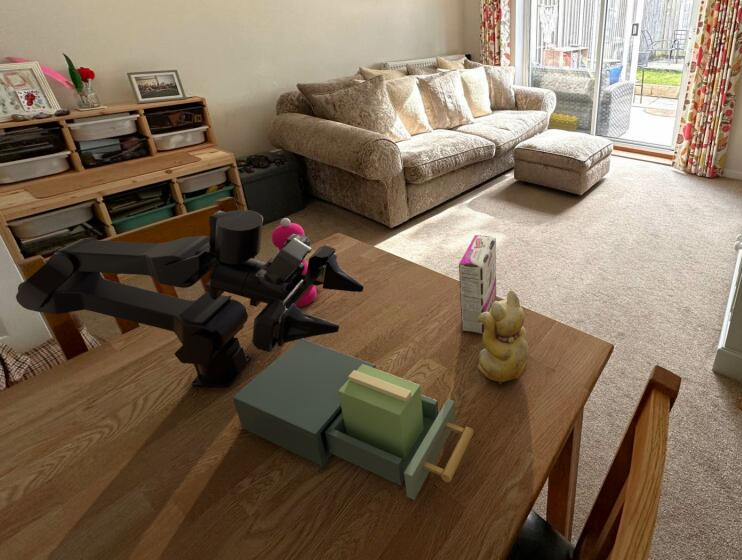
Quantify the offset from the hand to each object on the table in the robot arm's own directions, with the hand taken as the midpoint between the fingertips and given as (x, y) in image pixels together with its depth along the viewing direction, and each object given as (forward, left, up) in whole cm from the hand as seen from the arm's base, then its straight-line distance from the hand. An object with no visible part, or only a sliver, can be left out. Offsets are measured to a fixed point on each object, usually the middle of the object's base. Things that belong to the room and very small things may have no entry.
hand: (351, 307), depth 64 cm
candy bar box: (+19, +17, -16) cm, 30 cm away
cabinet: (-6, -6, -16) cm, 18 cm away
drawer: (+11, -12, -15) cm, 22 cm away
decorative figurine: (+25, +3, -16) cm, 30 cm away
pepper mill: (-21, +21, -16) cm, 34 cm away
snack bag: (+7, -11, -14) cm, 19 cm away
